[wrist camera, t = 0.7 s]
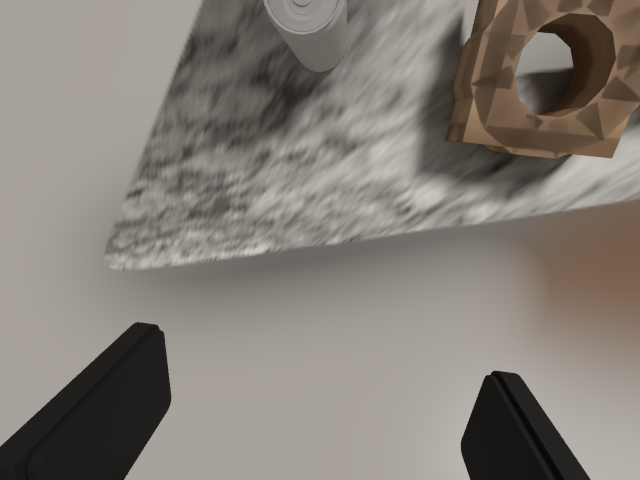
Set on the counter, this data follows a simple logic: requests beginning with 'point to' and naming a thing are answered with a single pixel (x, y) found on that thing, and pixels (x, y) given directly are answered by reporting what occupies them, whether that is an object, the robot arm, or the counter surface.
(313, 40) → the beverage can
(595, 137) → the socket block
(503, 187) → the counter surface
